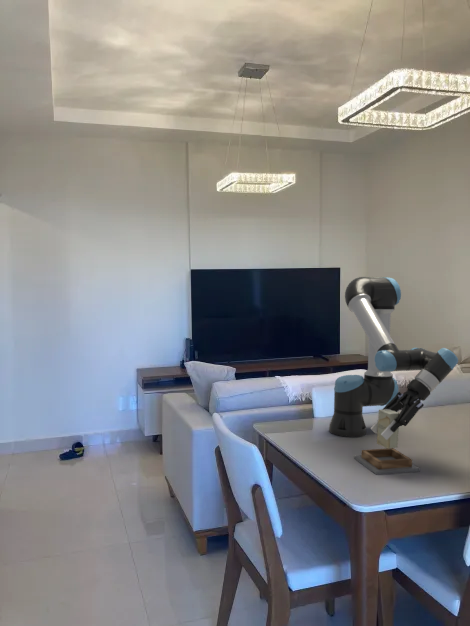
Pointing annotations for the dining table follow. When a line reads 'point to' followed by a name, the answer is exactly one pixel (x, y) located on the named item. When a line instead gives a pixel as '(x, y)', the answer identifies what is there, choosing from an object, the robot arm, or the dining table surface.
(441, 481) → the dining table surface
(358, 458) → the slate tray
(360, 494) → the dining table surface
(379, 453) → the walnut collar
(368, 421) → the dining table surface
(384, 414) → the skincare box
